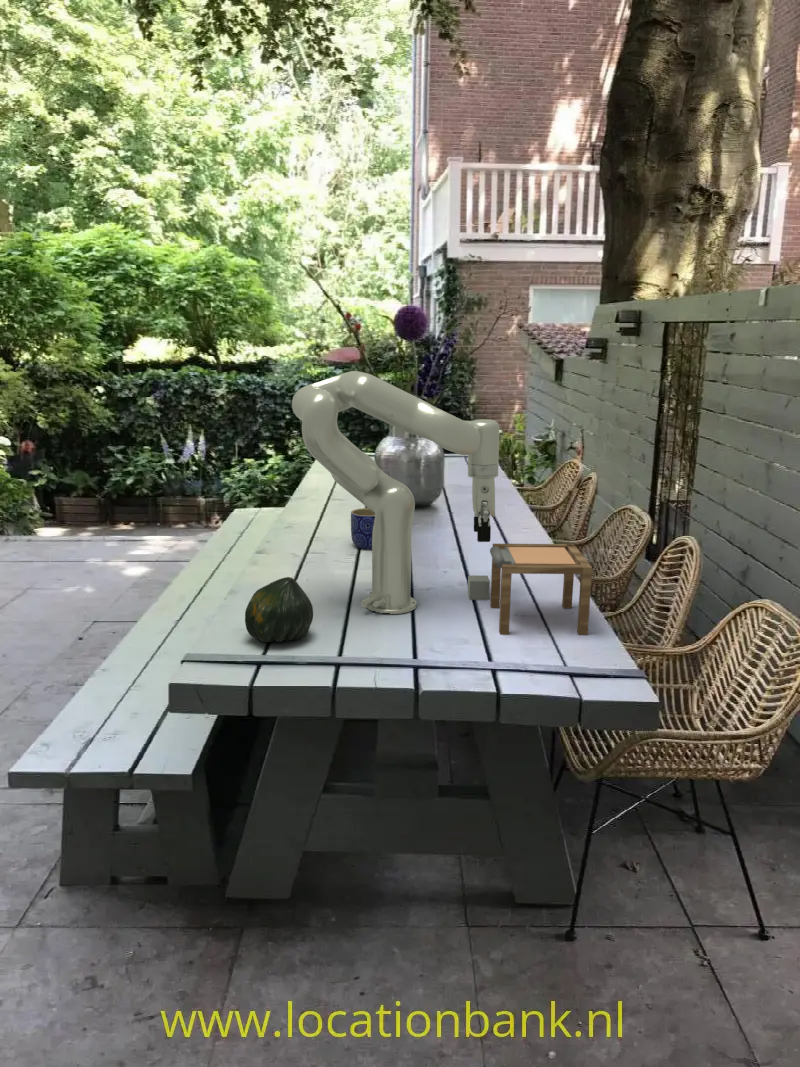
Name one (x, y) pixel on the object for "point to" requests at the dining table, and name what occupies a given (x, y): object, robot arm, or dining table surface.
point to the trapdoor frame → (567, 570)
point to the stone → (478, 587)
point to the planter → (362, 527)
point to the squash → (279, 612)
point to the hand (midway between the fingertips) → (481, 536)
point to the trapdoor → (531, 556)
